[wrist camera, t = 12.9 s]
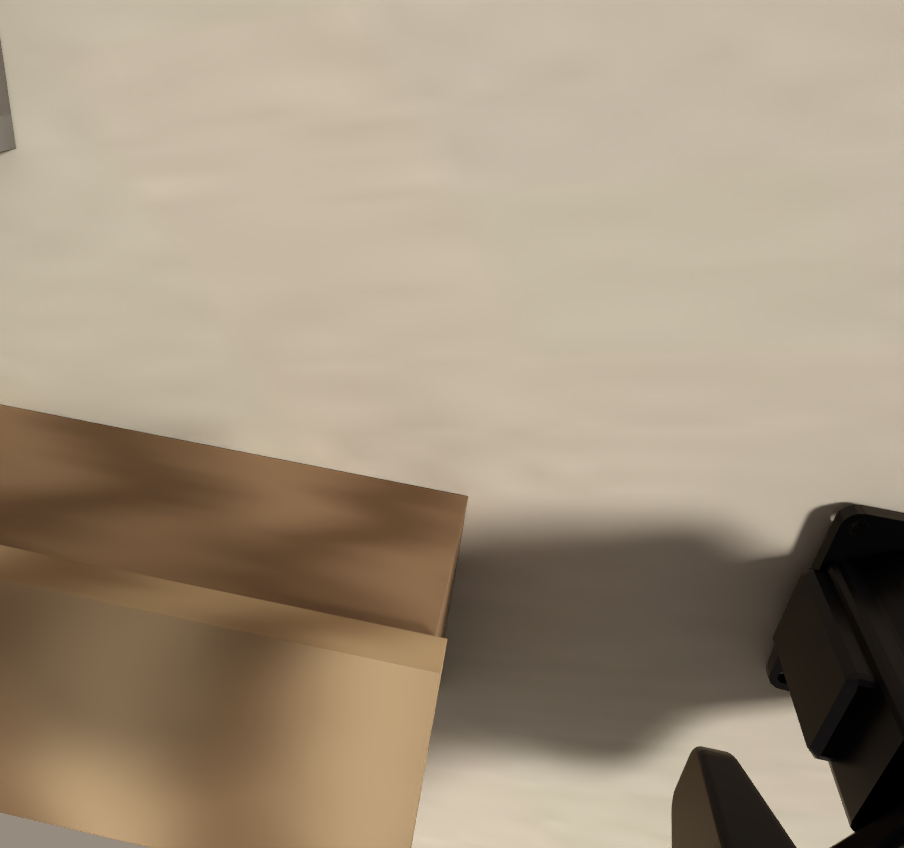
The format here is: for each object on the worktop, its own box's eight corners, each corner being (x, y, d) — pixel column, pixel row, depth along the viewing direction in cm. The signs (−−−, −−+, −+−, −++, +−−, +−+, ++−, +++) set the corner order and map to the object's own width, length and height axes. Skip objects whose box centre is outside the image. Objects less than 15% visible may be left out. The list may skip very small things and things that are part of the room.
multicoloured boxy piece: (608, -225, 14) (630, -423, 8) (442, 696, 26) (399, 906, 20) (-443, -358, 15) (-1119, -612, 9) (-142, 571, 27) (-351, 729, 21)
